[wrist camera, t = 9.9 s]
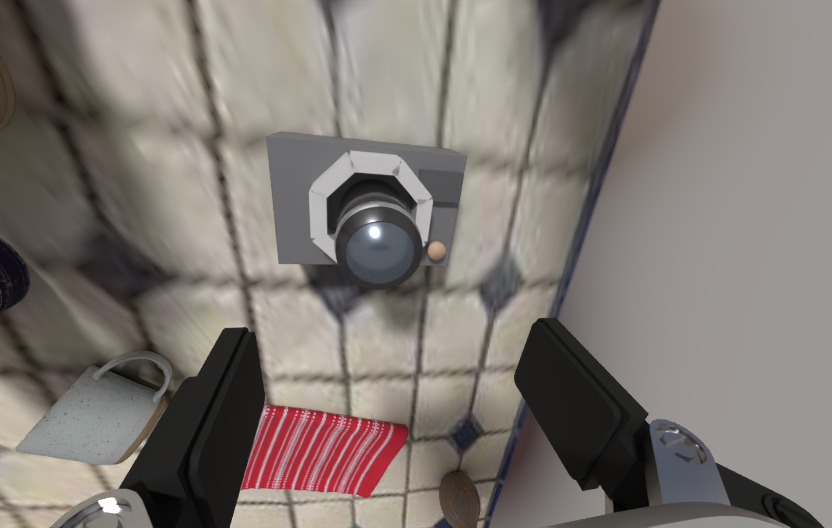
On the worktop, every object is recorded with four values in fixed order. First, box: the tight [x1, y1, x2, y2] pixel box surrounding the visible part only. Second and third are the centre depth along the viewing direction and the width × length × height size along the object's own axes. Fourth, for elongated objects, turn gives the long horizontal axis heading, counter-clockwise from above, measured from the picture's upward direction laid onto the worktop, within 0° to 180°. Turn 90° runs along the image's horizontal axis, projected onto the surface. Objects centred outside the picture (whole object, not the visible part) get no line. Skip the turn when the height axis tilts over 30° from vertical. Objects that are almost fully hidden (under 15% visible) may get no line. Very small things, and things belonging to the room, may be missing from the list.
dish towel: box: [240, 404, 408, 498], centre depth 44 cm, size 17×24×3 cm
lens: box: [334, 179, 423, 290], centre depth 21 cm, size 5×5×8 cm
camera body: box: [266, 132, 467, 266], centre depth 26 cm, size 10×15×7 cm, turn 84°
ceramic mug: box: [15, 350, 172, 465], centre depth 30 cm, size 11×8×8 cm
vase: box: [439, 472, 480, 528], centre depth 52 cm, size 7×7×9 cm
